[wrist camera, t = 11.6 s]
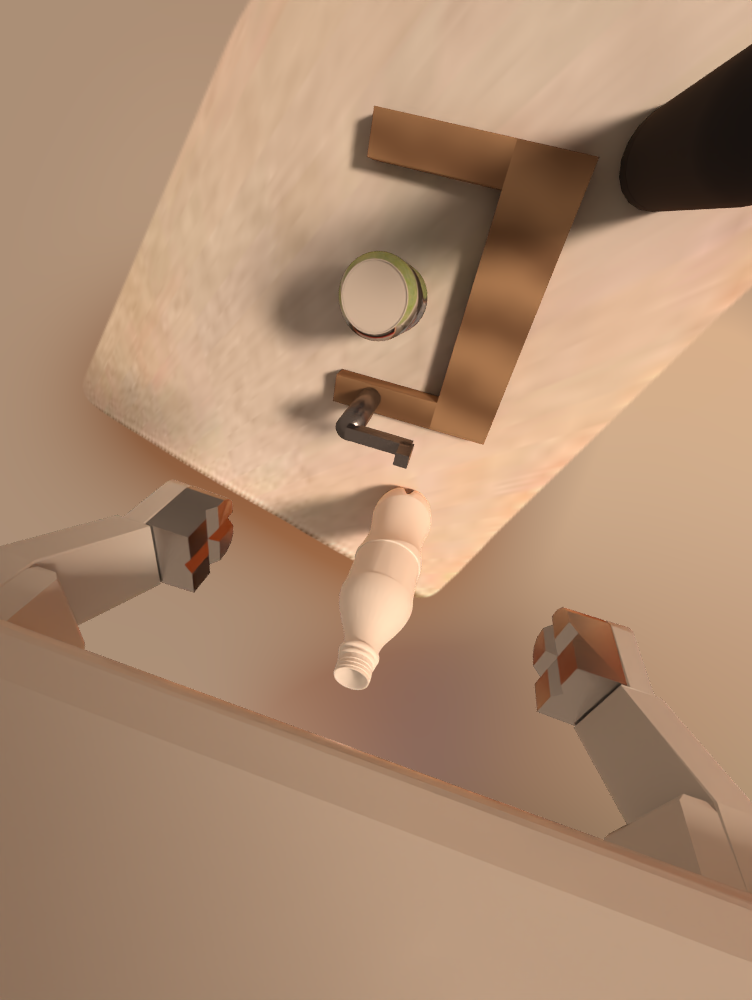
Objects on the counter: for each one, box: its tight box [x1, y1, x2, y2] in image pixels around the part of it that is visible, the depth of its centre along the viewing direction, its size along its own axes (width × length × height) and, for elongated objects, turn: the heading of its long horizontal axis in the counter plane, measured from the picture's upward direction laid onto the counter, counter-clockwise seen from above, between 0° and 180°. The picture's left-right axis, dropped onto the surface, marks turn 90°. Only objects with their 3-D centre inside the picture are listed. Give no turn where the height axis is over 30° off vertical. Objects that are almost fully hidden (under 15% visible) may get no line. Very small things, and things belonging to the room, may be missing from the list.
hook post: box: [336, 387, 414, 468], centre depth 40 cm, size 2×7×13 cm, turn 79°
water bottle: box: [334, 487, 431, 690], centre depth 43 cm, size 7×7×25 cm
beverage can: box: [339, 251, 427, 341], centre depth 34 cm, size 6×7×12 cm
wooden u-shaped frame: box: [333, 106, 599, 444], centre depth 38 cm, size 24×17×2 cm
